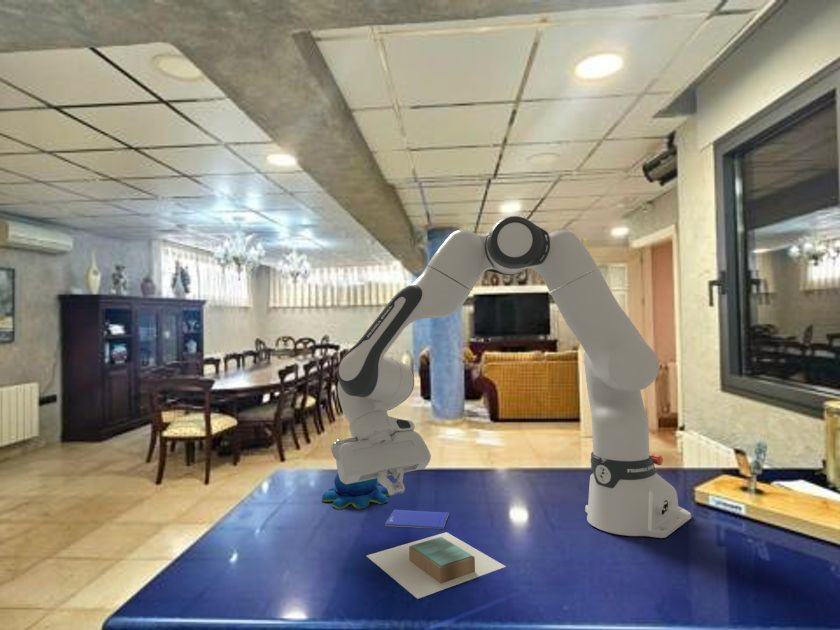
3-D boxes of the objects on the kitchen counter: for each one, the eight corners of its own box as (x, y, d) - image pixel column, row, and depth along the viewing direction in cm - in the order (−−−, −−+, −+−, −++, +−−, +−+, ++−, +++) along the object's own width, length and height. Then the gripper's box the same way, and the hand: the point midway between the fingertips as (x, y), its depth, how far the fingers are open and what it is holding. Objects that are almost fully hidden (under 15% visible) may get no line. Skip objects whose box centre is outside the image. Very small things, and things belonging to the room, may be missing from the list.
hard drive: (385, 523, 108) (443, 526, 106) (394, 508, 116) (448, 511, 114) (385, 530, 108) (443, 533, 106) (394, 515, 116) (449, 518, 114)
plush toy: (314, 510, 120) (313, 474, 121) (332, 487, 137) (331, 456, 138) (385, 510, 119) (384, 474, 119) (394, 487, 136) (393, 455, 136)
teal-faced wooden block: (441, 535, 96) (474, 555, 87) (441, 550, 96) (475, 571, 87) (409, 545, 92) (440, 567, 84) (409, 560, 92) (440, 583, 84)
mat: (446, 534, 104) (446, 532, 104) (506, 568, 89) (506, 566, 89) (366, 557, 95) (366, 555, 95) (417, 601, 79) (417, 598, 79)
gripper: (332, 432, 103) (354, 494, 95) (419, 420, 114) (445, 475, 106) (324, 450, 107) (344, 511, 98) (409, 437, 118) (433, 491, 109)
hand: (397, 492), depth 102 cm, fingers closed
